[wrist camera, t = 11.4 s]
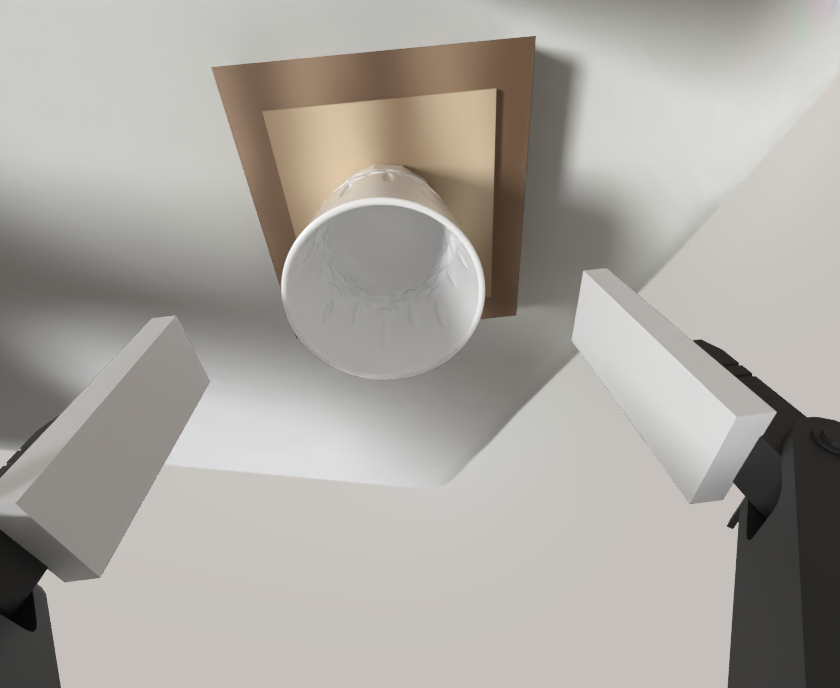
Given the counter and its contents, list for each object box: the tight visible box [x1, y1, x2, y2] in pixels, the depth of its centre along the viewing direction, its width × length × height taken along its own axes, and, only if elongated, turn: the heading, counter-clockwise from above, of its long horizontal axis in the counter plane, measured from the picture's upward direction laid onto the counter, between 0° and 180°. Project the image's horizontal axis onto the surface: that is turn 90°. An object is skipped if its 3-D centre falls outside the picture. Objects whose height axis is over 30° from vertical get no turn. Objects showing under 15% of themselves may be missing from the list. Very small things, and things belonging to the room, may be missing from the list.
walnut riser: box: [212, 36, 536, 338], centre depth 25 cm, size 16×16×4 cm
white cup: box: [281, 164, 485, 380], centre depth 19 cm, size 8×8×10 cm
